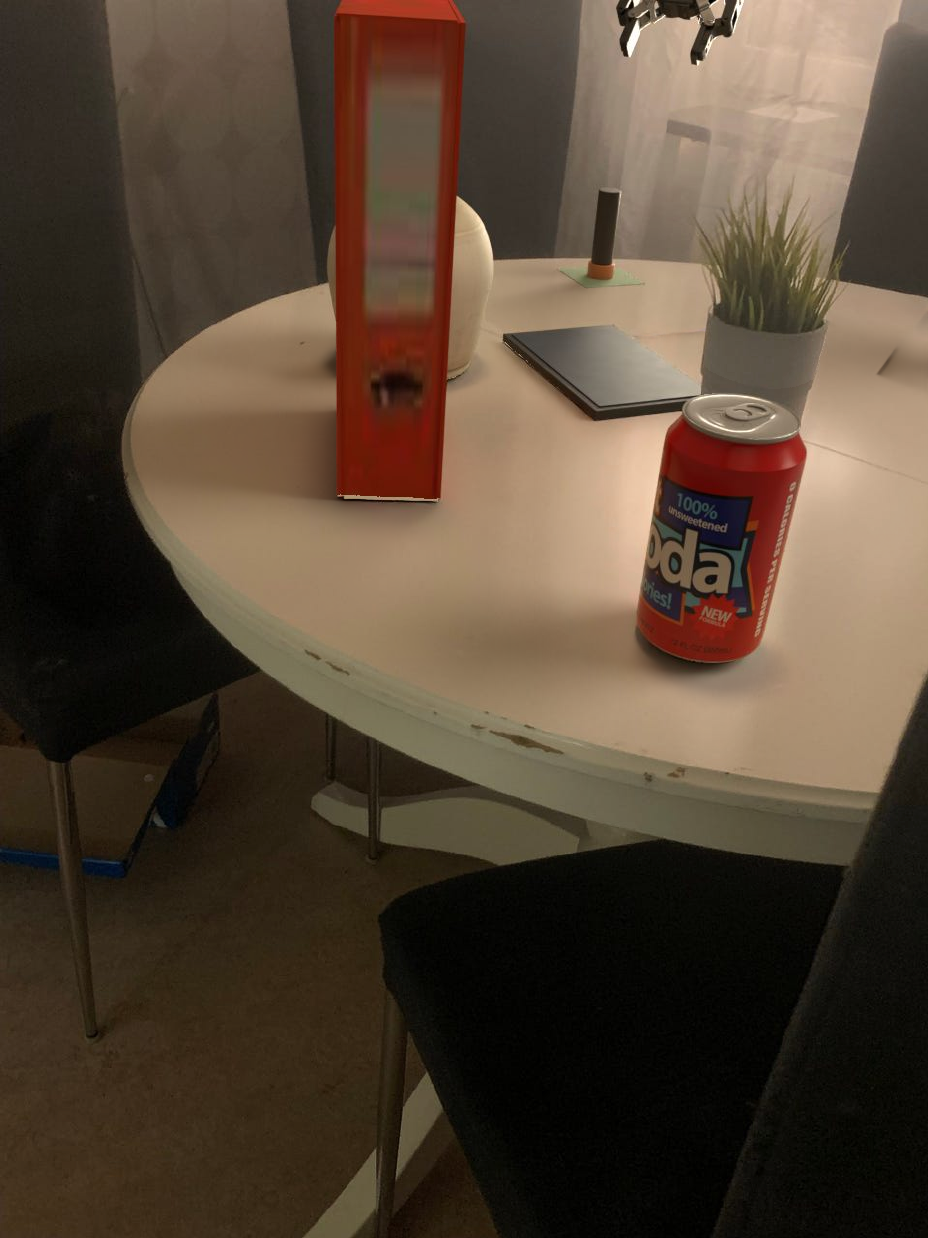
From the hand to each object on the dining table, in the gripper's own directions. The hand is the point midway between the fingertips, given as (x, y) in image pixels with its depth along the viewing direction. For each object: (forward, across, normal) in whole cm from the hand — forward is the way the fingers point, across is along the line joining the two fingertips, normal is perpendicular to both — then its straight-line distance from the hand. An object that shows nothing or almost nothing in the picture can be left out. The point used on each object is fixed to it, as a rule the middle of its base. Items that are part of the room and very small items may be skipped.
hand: (659, 55), depth 127 cm
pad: (+25, 0, +9) cm, 26 cm away
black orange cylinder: (+24, 0, +8) cm, 26 cm away
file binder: (+65, +5, -31) cm, 72 cm away
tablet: (+45, +12, -12) cm, 48 cm away
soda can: (+73, +35, -40) cm, 90 cm away
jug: (+52, -5, -18) cm, 55 cm away
